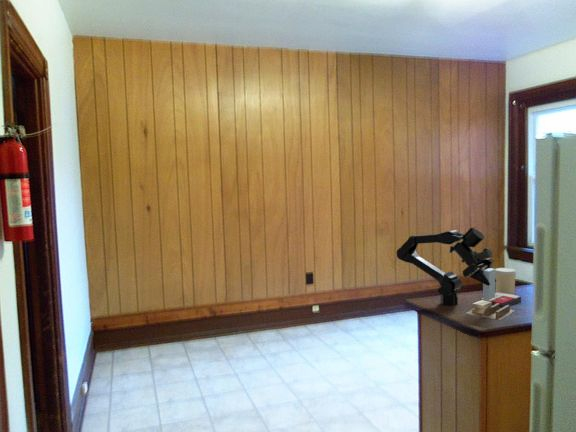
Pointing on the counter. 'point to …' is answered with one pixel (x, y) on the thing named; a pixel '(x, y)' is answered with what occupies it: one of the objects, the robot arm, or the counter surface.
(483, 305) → the offcut stack
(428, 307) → the counter surface
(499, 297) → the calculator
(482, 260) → the robot arm
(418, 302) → the counter surface
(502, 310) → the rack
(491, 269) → the light blue brick
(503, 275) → the coffee cup
